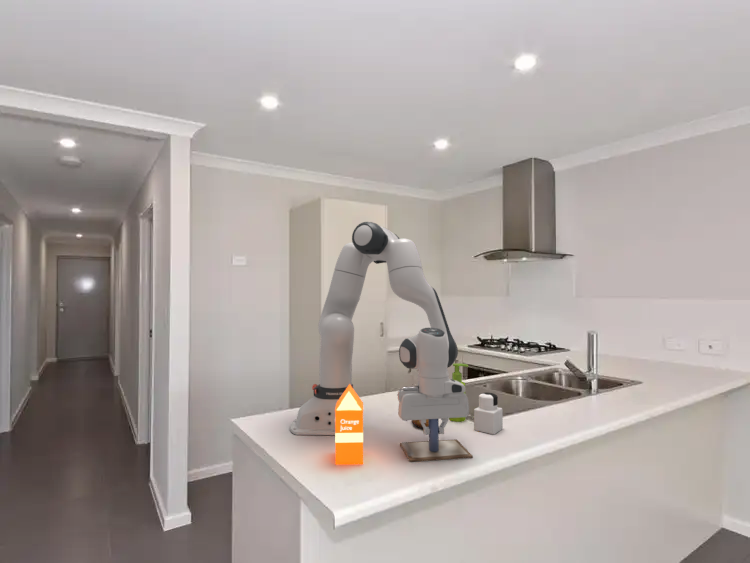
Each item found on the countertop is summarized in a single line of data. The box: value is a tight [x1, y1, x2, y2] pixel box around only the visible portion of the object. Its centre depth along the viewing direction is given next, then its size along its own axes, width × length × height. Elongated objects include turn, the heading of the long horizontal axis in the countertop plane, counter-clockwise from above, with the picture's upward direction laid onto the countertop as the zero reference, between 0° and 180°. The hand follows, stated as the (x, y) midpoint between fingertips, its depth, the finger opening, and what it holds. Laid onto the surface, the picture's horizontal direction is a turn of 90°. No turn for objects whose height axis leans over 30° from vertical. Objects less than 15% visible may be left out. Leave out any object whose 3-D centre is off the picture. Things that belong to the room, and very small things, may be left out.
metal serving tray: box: [399, 438, 474, 463], centre depth 127 cm, size 18×13×2 cm
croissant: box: [411, 419, 429, 430], centre depth 149 cm, size 14×7×5 cm, turn 24°
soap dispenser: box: [448, 362, 469, 423], centre depth 156 cm, size 6×7×20 cm
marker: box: [428, 419, 440, 452], centre depth 125 cm, size 3×3×12 cm
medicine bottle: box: [473, 392, 504, 436], centre depth 145 cm, size 7×7×12 cm
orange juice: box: [334, 384, 364, 466], centre depth 122 cm, size 8×9×20 cm
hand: (433, 433), depth 125 cm, fingers closed on marker, 3 cm apart
